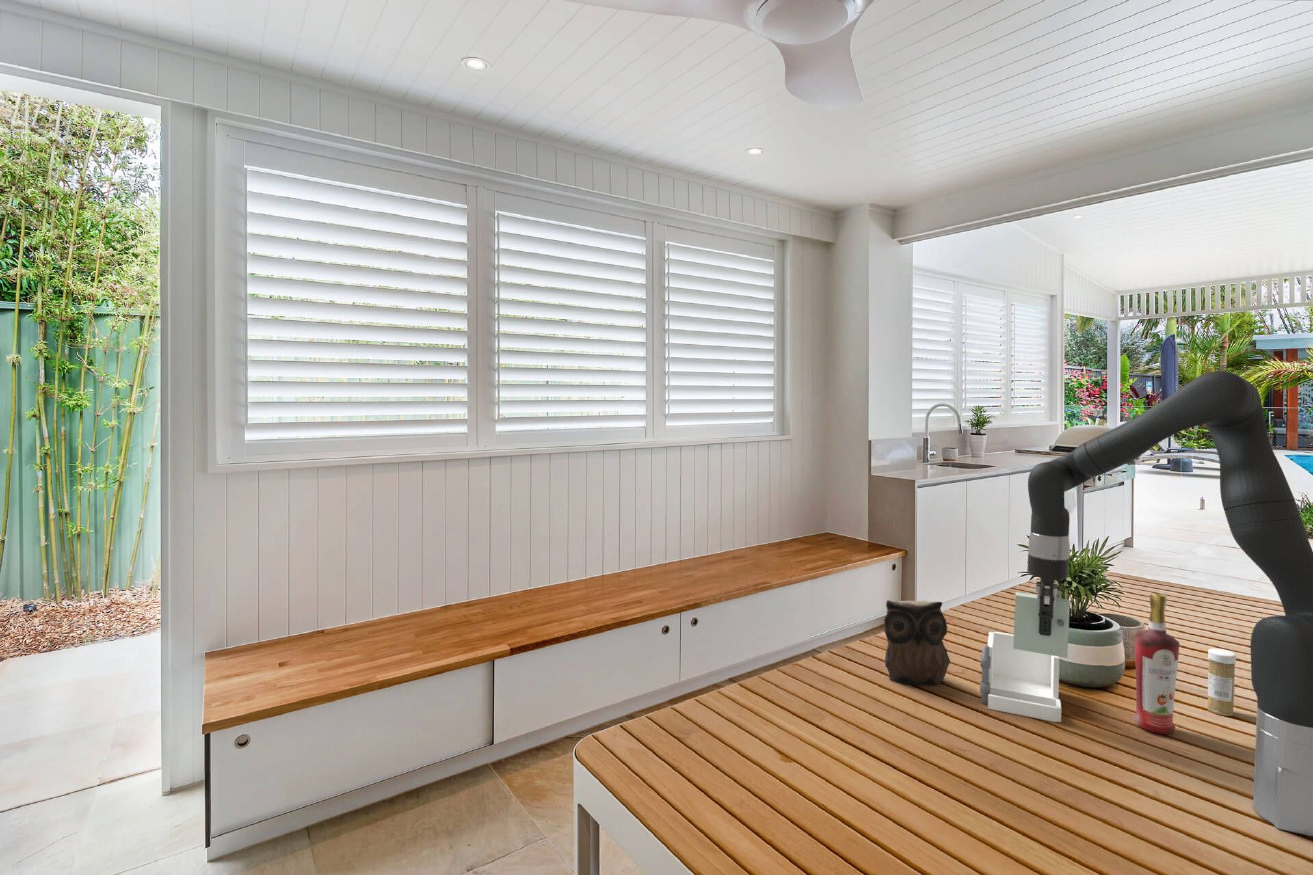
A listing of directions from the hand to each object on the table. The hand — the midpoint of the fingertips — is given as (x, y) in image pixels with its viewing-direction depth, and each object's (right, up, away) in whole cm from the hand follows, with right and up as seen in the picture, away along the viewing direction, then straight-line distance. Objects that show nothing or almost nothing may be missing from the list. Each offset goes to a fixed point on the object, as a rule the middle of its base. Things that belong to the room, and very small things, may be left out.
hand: (1044, 632), depth 139 cm
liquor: (+19, -19, -5) cm, 27 cm away
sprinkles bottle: (+40, -18, +2) cm, 43 cm away
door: (-1, -4, +1) cm, 4 cm away
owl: (-20, -17, +21) cm, 34 cm away
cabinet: (-1, -18, +8) cm, 20 cm away
